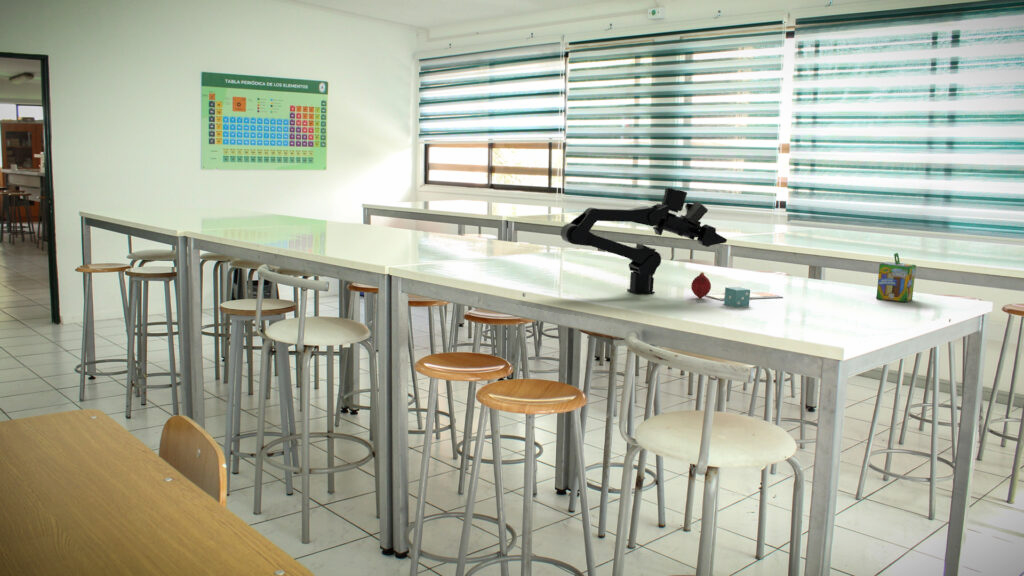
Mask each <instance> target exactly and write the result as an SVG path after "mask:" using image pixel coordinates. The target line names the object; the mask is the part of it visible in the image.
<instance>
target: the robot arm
mask: <svg viewBox="0 0 1024 576" xmlns="http://www.w3.org/2000/svg"><path fill="white" fill-rule="evenodd" d="M687 196H688V192H686V191H684V190H681V189H674V188H671V187H666V188H665V189H664V194H663V198H662V201H661V203H657V204H654V205H652V206H647V205H645V206H639V207H634V208H628V209H624V208H623V209H620V208H599V207H598V208H595V207H588V208H586V209H585V210H584V211H583V212H582V213H581V214H580V215H578V216H577V217H575V218H574V219H573V220H572V221H571V222H569V223H566V224H564V225H563V226H562V228H561V229H560V237H561V238H562V240H563V241H564V242H567V243H569V244H572V245H575V246H576V245H577V246H586V247H593V248H595V249H599V250H602V251H605V252H609V253H611V254H614V255H617V256H621V257H624V258H626V259H628V260H630V262H629V264H628V268H629V271H630V279H629V288H627V289H626V291H628V292H630V293H634V294H638V295H639V294H640V295H642V294H655V290H654V281H655V277H654V275H655V274H656V272H657V271H656V270H657V268H659V267H660V265H661V264H662V257H661V254H660V253H659V252H658V251H656V250H657V249H656V248H654V247H651V246H647V245H644V244H641V243H636V245H635V246H636V247H635V246H634V247H633V246H628V245H626V244H623V243H620V242H616V241H614V240H611V239H608V238H605V237H602V236H598V235H596V234H594V233H593V232H591V230H592V228H593V227H594V225H595V223H597V222H626V223H627V222H630V223H636V224H641V225H645V226H650V227H652V230H654V233H655V235H658V236H661V235H662V234H663V232H664V231H665V232H668V233H671V234H674V235H678V236H680V237H684V238H688V239H690V240H693V241H695V238H697V239H696V240H697V242H698V244H700V245H701V246H703V247H705V248H706V247H707V248H709V247H710V246H714V245H715V246H716V245H719V244H726V243H727V242H728V241H727V240H728V239H727V238H726V237H723V236H722V235H720V234H718V233H717V229H716V227H715V226H712V225H709V224H704V225H701V224H702V221H701V220H702V219H703V217H704V215H705V214H706V213H708V211H709V208H707V207H706V206H704V204H702V202H698V201H693V202H692V203H691V202H687V203H686V204H685V202H686V200H687V199H686V198H687ZM684 207H685V210H686V212H685V215H683V214H681V215H678V214H677V213H679V212H681V211H683V208H684ZM671 212H673V213H671Z"/></svg>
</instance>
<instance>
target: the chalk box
mask: <svg viewBox="0 0 1024 576" xmlns="http://www.w3.org/2000/svg"><path fill="white" fill-rule="evenodd" d="M893 258H894V262H890V261H885V262H880V263H879V266H878V267H879V268H878V278H877V288H876V289H877V290H876V296H875V297H876V300H882V301H883V300H884V301H891V302H894V301H895V302H903V303H908V302H910V301H912V300H913V297H914V296H913V295H914V286H915V278H916V277H915V276H916V270H917V269H916V267H917V264H910V263H903V262H901V261H900V257H899V253H898V252H896V253H895V252H894V253H893Z"/></svg>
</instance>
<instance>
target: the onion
mask: <svg viewBox="0 0 1024 576" xmlns="http://www.w3.org/2000/svg"><path fill="white" fill-rule="evenodd" d="M711 289H712V285H711V281H710V279H709V278H708V277H707V276H706V275H705V273H704V272H703V271H702V272H700V274H699V275H697V276H696V277H695V278H694V279H693V280H692V282H691V291H692V293H693V294H694V295H695V296H696V297H697V298H698V299H702V298H704V297H706V296H705V295H707V294H710V291H711Z"/></svg>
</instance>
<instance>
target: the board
mask: <svg viewBox="0 0 1024 576" xmlns="http://www.w3.org/2000/svg"><path fill="white" fill-rule="evenodd" d="M704 297H707V298H710V299H713V300H717V301H724V298H725V293H708V294H707V295H705V296H704ZM763 299H764V300H765V299H784V297H783V296H780V295H778V294H773V293H769V292H765V291H761V292H760V291H757V292H755V291H754V292H750V299H749V300H763Z"/></svg>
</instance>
